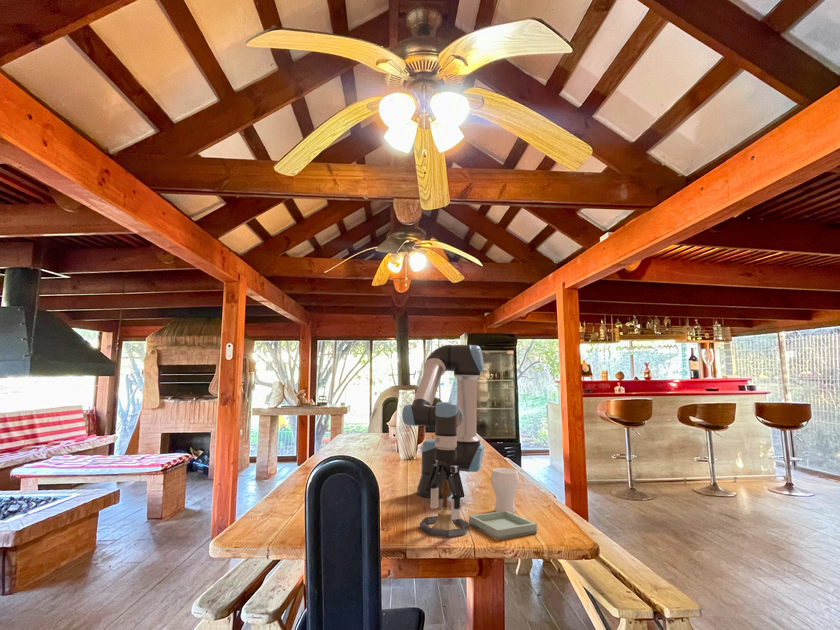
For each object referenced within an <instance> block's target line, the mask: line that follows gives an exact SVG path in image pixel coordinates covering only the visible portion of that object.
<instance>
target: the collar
mask: <svg viewBox="0 0 840 630" xmlns="http://www.w3.org/2000/svg"><path fill="white" fill-rule="evenodd" d="M437 517H438V515H434V516H427V517H424V518H423V519H422V520H421V521H420V523H419V530H421V531H422V532H424V533H425V534H426V535H428V536H432V537H433V536H434V537H441V538H454V537H460V536H465V535H466V534H467V532H468V531H469V528H470V525H469V521H466V520H464V519H463V518H460V517H459V519H455V520H452V521H453V524H454V525H458V526H460V527H459V528H457V529H452V530H442V529H434V528H432V527H430V526H429V525H430V524H435V523H436V520H437Z"/></svg>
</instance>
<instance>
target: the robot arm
mask: <svg viewBox="0 0 840 630" xmlns="http://www.w3.org/2000/svg"><path fill="white" fill-rule="evenodd" d="M423 365H424V369H423V370H424V371H423V374H422V376H421V379H420V382H419V385H418V387H417V391H416V393H415V396H414V398H413V402H412V403H411V404H405V405H404V407H403V408H402V422H403V424H405V425H407V426H414V427H432V428H433V427H435V429H434V431H435V433H434V435H435V436H434V438H432V439H431V438H430V439H426V440H424V441H423V442H422V446H421V447H422V448H421V475H420V479H419V482H418V485H417V487H416V488H417V489H416V494H417V495H418V496H419V497H422V498H427V499H430V509H438V508H439V499H443V497H442V491H441V489H442V484H443V480H444V479H446V480H447V481H448V485H449V495H448V498H449V496H450V497H451V500H450V501H451V505H450V507H451V509H450V512H451V519H452V520H455V519H459V518H460V512H461V511H460V508H461V499H462V498H465V492H464V491H465V490H464V486H463V482H462V478H461V474H460V472H468V473H478V472H479V471H480V469H481V468H482V467H481V466H482V462H483V456H484V448H485V447H484V446H485V445H484V444H482V443H481V439H480V437H478V435H477V422H478V421H477V412H478V411H477V410H478V408H477V406H478V405H477V402H478V401H477V399H478V398H477V397H478V393H477V391H478V389H477V385H478V380H479V378H480V377H481V373H483V372H484V370H485V362H484V356H483V351H482V349H481V347H480V346H479V345H477V344H476V345H475V344H474V345H472V344H445V345H442V346H439V347H438V348H436V349H434V350H433V351H432V352H431V353H430V354H429V355H428V356H427V358H426V360H425V362H424V364H423ZM446 372H453V376H454V377H455V378H456V381H457V383H456V385H457V386H456V402H451V401H450V402H449V401H439V402H437V403H436V404H435V405H433V404H434V401H435V397H436V394H437V390H438V389H439V385H440V382H441V378H442V376H443V375H444V374H445V373H446Z"/></svg>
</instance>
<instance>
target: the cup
mask: <svg viewBox="0 0 840 630" xmlns="http://www.w3.org/2000/svg"><path fill="white" fill-rule="evenodd" d="M490 482H491V486H492V489H493V492H494V494H495V504H494V505H495V506H494V512H498V511H505V510H506V511H508V512H511V513H513V514H516V506H515V497H516V493H517V492H518V489H519V485H520V477H519V472H518V470H516V469H513V468H508V467H507V468H506V467H498V468H497V467H495V468H493V469H492V471H491V475H490Z"/></svg>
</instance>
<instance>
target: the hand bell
mask: <svg viewBox="0 0 840 630" xmlns="http://www.w3.org/2000/svg"><path fill="white" fill-rule="evenodd" d="M441 491H442V497H443V498H442V505H441V507H442V508H441V510H439V511H437V516H438V517H437V520H436V523H433V525H432V526H431V528H434V529H442V530H452V529H458V528H457V527H456V524H454V523H453V521H452V519H451V510H449V509H448V498H449V497H448V495H449V485H448V481H447V480H446V479H444V480H443V484H442V489H441Z"/></svg>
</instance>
